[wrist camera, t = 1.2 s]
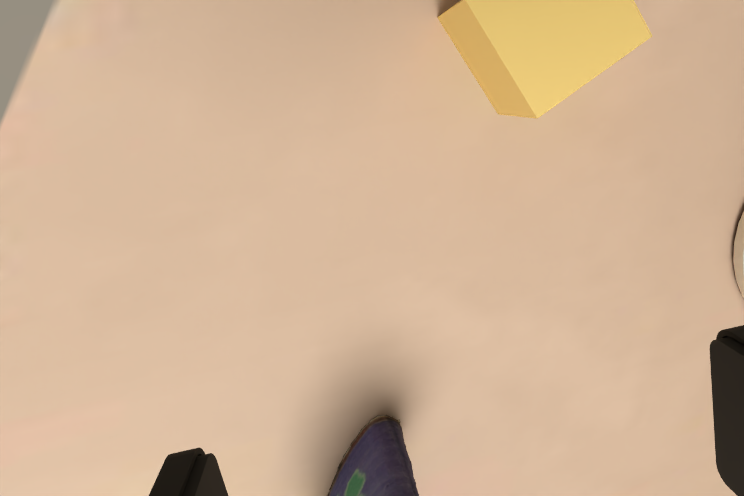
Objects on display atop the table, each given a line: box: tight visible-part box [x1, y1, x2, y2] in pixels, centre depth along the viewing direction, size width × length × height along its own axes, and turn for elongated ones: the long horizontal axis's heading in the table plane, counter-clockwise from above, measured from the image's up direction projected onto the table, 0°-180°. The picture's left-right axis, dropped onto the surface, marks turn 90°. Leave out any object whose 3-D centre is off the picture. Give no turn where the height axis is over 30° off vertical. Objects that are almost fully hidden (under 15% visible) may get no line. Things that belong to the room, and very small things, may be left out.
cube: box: [437, 0, 652, 118], centre depth 27 cm, size 6×6×6 cm
